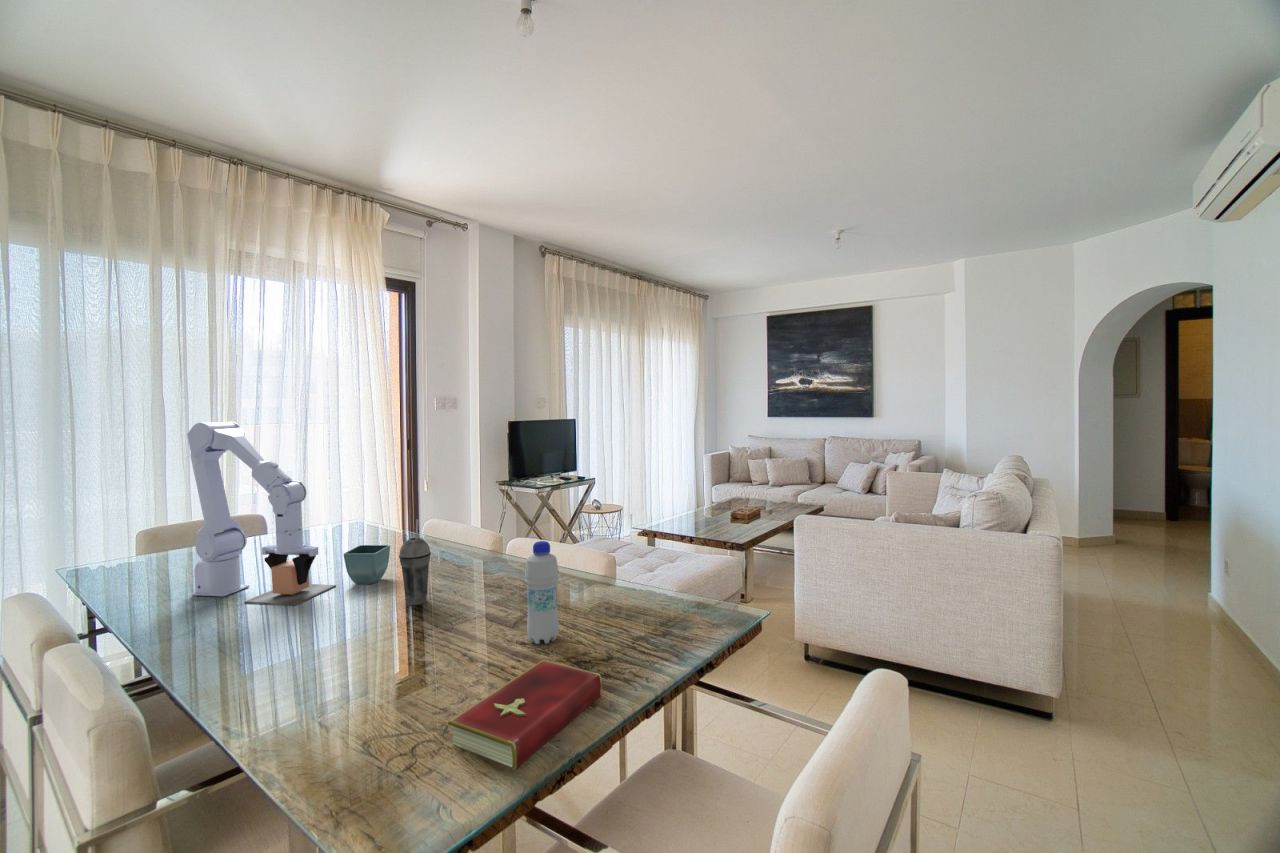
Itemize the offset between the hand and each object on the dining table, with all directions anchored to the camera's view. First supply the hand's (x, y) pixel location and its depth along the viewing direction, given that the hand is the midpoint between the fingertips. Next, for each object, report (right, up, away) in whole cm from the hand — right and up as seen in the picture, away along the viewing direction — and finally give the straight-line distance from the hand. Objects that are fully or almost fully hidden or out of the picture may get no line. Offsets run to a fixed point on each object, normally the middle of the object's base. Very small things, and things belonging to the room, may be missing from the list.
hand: (291, 582), depth 142 cm
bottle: (+69, -3, -30) cm, 75 cm away
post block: (0, -3, 0) cm, 3 cm away
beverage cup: (+34, -3, -7) cm, 35 cm away
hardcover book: (+72, -5, -58) cm, 93 cm away
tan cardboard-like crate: (0, -2, 0) cm, 2 cm away
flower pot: (+15, -3, +10) cm, 18 cm away
